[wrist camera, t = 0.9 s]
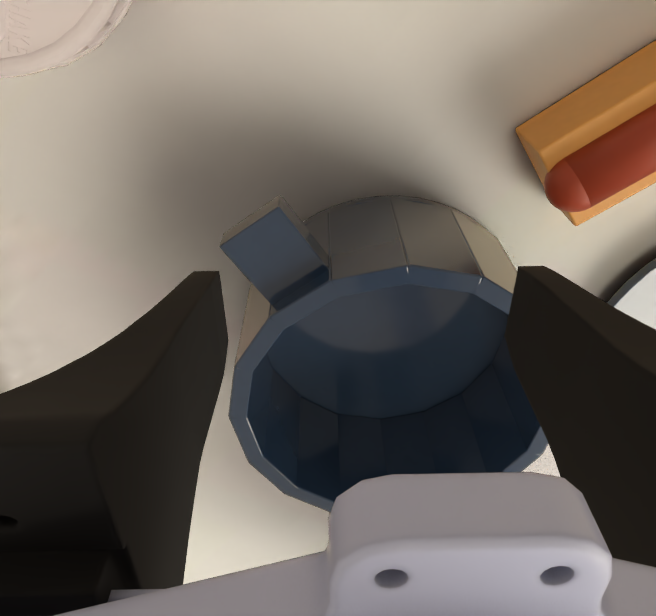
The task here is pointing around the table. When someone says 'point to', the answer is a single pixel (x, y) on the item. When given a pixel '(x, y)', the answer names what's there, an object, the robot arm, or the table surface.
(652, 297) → the pot lid
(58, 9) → the smoothie
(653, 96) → the hot dog
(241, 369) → the pot
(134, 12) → the table surface
